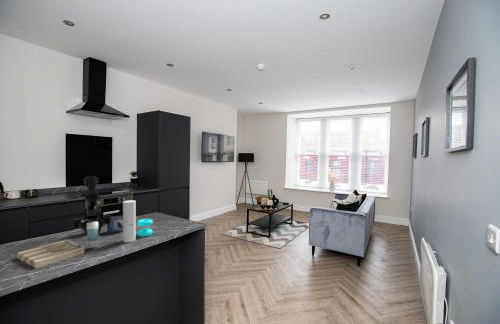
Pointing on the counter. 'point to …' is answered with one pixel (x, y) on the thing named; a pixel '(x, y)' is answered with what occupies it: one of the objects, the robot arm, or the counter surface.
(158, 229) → the counter surface
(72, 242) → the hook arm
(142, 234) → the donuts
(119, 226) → the small box
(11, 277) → the counter surface
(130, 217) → the cylindrical container
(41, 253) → the light wood flat tray
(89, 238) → the white teal rounded cylinder
